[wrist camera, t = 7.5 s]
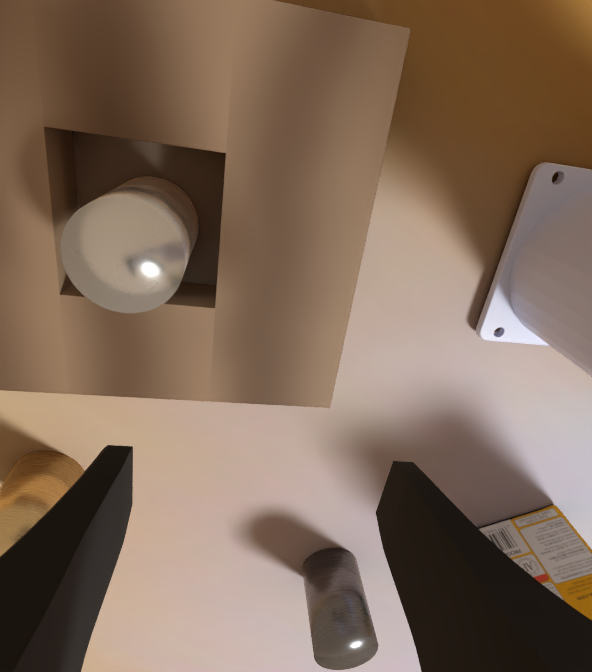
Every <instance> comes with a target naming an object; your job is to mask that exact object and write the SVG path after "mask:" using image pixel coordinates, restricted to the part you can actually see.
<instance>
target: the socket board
mask: <svg viewBox="0 0 592 672" xmlns="http://www.w3.org/2000/svg"><path fill="white" fill-rule="evenodd" d="M410 31H411V28H406V27H401V26H396V25H392V24H387V23H382V22H377V21H372V20H367V19H363V18H358V17H353V16H348V15H343V14H338V13H333V12H329V11H324V10H319V9H314V8H309V7H304V6H299V5H295V4H290V3H285V2H280V1H275V0H0V390H7V391H26V392H45V393H63V394H82V395H100V396H119V397H138V398H156V399H175V400H194V401H212V402H231V403H249V404H268V405H287V406H305V407H324V408H330V405H331V400H332V395H333V391H334V386H335V381H336V377H337V372H338V367H339V363H340V358H341V353H342V349H343V344H344V339H345V335H346V330H347V325H348V321H349V316H350V311H351V307H352V302H353V297H354V293H355V288H356V283H357V279H358V274H359V269H360V265H361V260H362V255H363V251H364V246H365V241H366V237H367V232H368V227H369V223H370V218H371V213H372V209H373V204H374V199H375V195H376V190H377V185H378V181H379V176H380V171H381V167H382V162H383V157H384V153H385V148H386V143H387V139H388V134H389V129H390V125H391V120H392V115H393V111H394V106H395V101H396V97H397V92H398V87H399V83H400V78H401V73H402V69H403V64H404V59H405V55H406V50H407V45H408V41H409V36H410ZM72 131H78V132H85V133H92V134H99V135H106V136H113V137H119V138H126V139H133V140H140V141H147V142H154V143H161V144H167V145H174V146H181V147H188V148H195V149H202V150H209V151H215V152H222V153H226V160H225V174H224V188H223V203H222V217H221V231H220V246H219V260H218V275H217V286H215V285H204V284H194V283H184V282H181V283H180V285H179V287H178V289H177V290H176V292H175V293H174V294H173V296H172V297H171V298H170V299H169V300H168V301H166V302H165V303H164V304H162V305H160V306H159V307H157V308H154V309H152V310H149V311H145V312H140V313H121V312H116V311H112V310H109V309H106V308H103V307H101V306H99V305H97V304H95V303H94V302H92V301H91V300H89V299H88V298H87V297H85V296H84V295H83V294H82V293H81V292H80V291H79V290H78V289H77V288H76V287H75V286H74V284H73V283H72V282H71V280H70V278H69V277H68V275H67V273H66V271H65V269H64V265H63V262H62V258H61V248H60V245H61V237H62V234H63V230H64V228H65V226H66V224H67V222H68V221H69V219H70V218H71V217H72V215H73V214H74V213H75V212H76V211H77V210H78V207H77V192H76V178H75V163H74V149H73V134H72Z"/></svg>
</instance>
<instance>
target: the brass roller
mask: <svg viewBox="0 0 592 672" xmlns="http://www.w3.org/2000/svg"><path fill="white" fill-rule="evenodd" d="M83 473H84V470H83V468H82V467H81V466H80V465H79V464H78V463H77V462H76V461H75V460H73V459H72V458H70V457H68V456H66V455H64V454H61V453H57V452H52V451H38V452H33V453H30V454H27V455H25V456H23V457H22V458H20V459H19V460H18V461H17V463H16V464H15V465H14V467H13V468H12V470H11V472H10V473H9V475H8V476H7V478H6V479H5V481H4V482H3V484H2V485H1V487H0V556H1V555H2V554H3V553H5V552H6V551H7V550H8V549H9V548H10V547H11V546H12V545H14V544H15V543H16V542H17V541H18V540H19V539H20V538H21V537H22V536H23V535H24V534H25V533H26V532H27V531H28V530H29V529H30V528H32V527H33V526H34V525H35V524H36V523H37V522H38V521H39V520H40V519H41V518H42V517H43V516H44V515H45V514H46V513H47V512H48V511H49V510H50V509H51V508H52V507H53V506H54V505H55V504H56V503H57V502H58V500H59V499H60V498H61V497H62V496H63V495H64V494H65V493H66V492H67V491H68V490H69V489H70V488H71V487H72V486H73V484H74V483H75V482H76V481H77V480H78V479H79V478H80V476H81V475H82V474H83Z"/></svg>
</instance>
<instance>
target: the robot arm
mask: <svg viewBox="0 0 592 672" xmlns="http://www.w3.org/2000/svg"><path fill="white" fill-rule="evenodd" d="M556 172H558V178H557V180H556V181H555V182H552V177H553V175H554V173H556ZM499 327H500V330H499V331H498V332H497V333H494V331H495V330H496V329H497V328H499ZM476 333H477V335H478V336H479V337H480V338H481V339H483V340H487V341H499V342H510V343H522V344H534V345H546V346H551V347H552V348H554V349H555V350H556V351H558V352H559V353H560V354H562V355H563V356H564V357H566V358H567V359H569V360H570V361H571V362H573V363H574V364H575V365H577V366H578V367H579V368H581V369H582V370H583V371H585V372H586V373H587V374H589V375H590V376H591V377H592V169H586V168H579V167H573V166H567V165H561V164H555V163H548V162H543V163H540V164H538V165H537V166H536V167H535V168H534V169H533V171H532V173H531V175H530V178H529V181H528V183H527V186H526V189H525V192H524V195H523V197H522V200H521V203H520V206H519V209H518V212H517V214H516V217H515V220H514V223H513V226H512V229H511V231H510V234H509V237H508V240H507V243H506V245H505V248H504V251H503V254H502V257H501V260H500V262H499V265H498V268H497V271H496V274H495V276H494V279H493V282H492V285H491V288H490V291H489V293H488V296H487V299H486V302H485V305H484V307H483V310H482V313H481V316H480V319H479V322H478V324H477V327H476ZM132 475H133V447H130V446H113V445H108V446H107V447H105V448H104V449H103V450H102V451H101V453H100V454H99V455H98V456H97V458H96V459H95V460H94V461H93V462H92V464H91V465H90V466H89V467H88V468H87V470H86V471H85V472H84V473H83V474H82V475H81V476H80V478H79V479H78V480H77V481H76V482H75V483H74V484H73V486H72V487H71V488H70V489H69V490H68V491H67V492H66V493H65V494H64V495H63V496H62V497H61V498H60V499H59V500H58V502H57V503H56V504H55V505H54V506H53V507H52V508H51V509H50V510H49V511H48V512H47V513H46V514H45V515H44V516H43V517H42V518H41V519H40V520H39V521H38V522H37V523H36V524H35V525H34V526H33V527H32V528H30V529H29V530H28V531H27V532H26V533H25V534H24V535H23V536H22V537H21V538H20V539H19V540H18V541H17V542H16V543H15V544H14V545H12V546H11V547H10V548H9V549H8V550H7V551H6V552H5V553H3V554H2V555H1V556H0V672H81V669H82V665H83V661H84V657H85V654H86V651H87V647H88V644H89V641H90V638H91V634H92V631H93V629H94V626H95V623H96V620H97V617H98V614H99V611H100V609H101V606H102V603H103V600H104V597H105V594H106V591H107V589H108V586H109V583H110V580H111V577H112V574H113V571H114V568H115V566H116V563H117V560H118V557H119V554H120V551H121V548H122V545H123V542H124V538H125V534H126V529H127V525H128V521H129V516H130V512H131V507H132ZM376 515H377V521H378V526H379V531H380V536H381V540H382V545H383V549H384V552H385V555H386V558H387V561H388V564H389V567H390V571H391V574H392V577H393V580H394V582H395V585H396V588H397V591H398V594H399V597H400V600H401V603H402V606H403V609H404V612H405V615H406V618H407V621H408V624H409V627H410V630H411V633H412V636H413V640H414V643H415V646H416V650H417V654H418V658H419V662H420V666H421V671H422V672H592V620H591V619H589V618H588V617H586V616H585V615H583V614H582V613H580V612H579V611H578V610H576V609H575V608H573V607H572V606H571V605H569V604H568V603H567V602H565V601H564V600H562V599H561V598H560V597H558V596H557V595H555V594H554V593H553V592H552V591H550V590H549V589H548V588H546V587H545V586H544V585H542V584H541V583H540V582H539V581H537V580H536V579H535V578H534V577H532V576H531V575H530V574H529V573H528V572H526V571H525V570H524V569H523V568H521V567H520V566H519V565H518V564H517V563H515V562H514V561H513V560H512V559H511V558H510V557H508V556H507V555H506V554H505V553H504V552H503V551H502V550H500V549H499V548H498V547H497V546H496V545H495V544H494V543H493V542H492V541H491V540H490V539H489V538H487V537H486V536H485V535H484V534H483V533H482V532H481V531H480V530H479V529H478V528H477V527H476V526H475V525H474V524H473V523H472V522H471V521H470V520H469V519H468V518H467V517H466V516H465V515H464V514H463V513H462V512H461V511H460V510H459V509H458V508H457V507H456V506H455V505H454V504H453V503H452V502H451V501H450V500H449V499H448V498H447V497H446V496H445V495H444V494H443V493H442V492H441V491H440V489H439V488H438V487H437V486H436V485H435V484H434V483H433V482H432V481H431V480H430V479H429V478H428V477H427V476H426V475H425V474H424V473H423V472H422V471H421V470H420V469H419V468H418V467H417V466H416V465H415V464H414V463H413V462H397V461H393V464H392V466H391V469H390V472H389V475H388V478H387V481H386V484H385V487H384V490H383V493H382V496H381V499H380V502H379V505H378V508H377V511H376Z"/></svg>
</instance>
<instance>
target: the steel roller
mask: <svg viewBox="0 0 592 672" xmlns="http://www.w3.org/2000/svg"><path fill="white" fill-rule="evenodd" d="M198 228H199V225H198V217H197V213H196V210H195V208H194V205H193V203H192V202H191V200H190V199H189V197H188V196H187V195H186V194H185V193H184V192H183V191H182V190H181V189H180V188H179V187H178V186H176V185H175V184H173V183H171V182H169V181H167V180H165V179H162V178H158V177H150V176H145V177H138V178H134V179H131V180H129V181H127V182H125V183H124V184H122V185H120V186H118V187H116V188H115V189H113V190H111V191H109V192H108V193H106V194H104V195H102V196H100V197H99V198H97V199H95V200H93V201H92V202H90V203H88V204H86V205H85V206H83V207H81V208H80V209H79V210H77V211H76V212H75V213H74V214H73V215H72V217H71V218H70V219H69V221H68V222H67V224H66V226H65V228H64V230H63V234H62V237H61V245H60V248H61V258H62V262H63V265H64V269H65V271H66V273H67V275H68V277H69V278H70V280H71V282H72V283H73V284H74V286H75V287H76V288H77V289H78V290H79V291H80V292H81V293H82V294H83V295H84V296H85V297H87V298H88V299H89V300H91V301H92V302H94V303H95V304H97V305H99V306H101V307H103V308H106V309H109V310H112V311H116V312H121V313H140V312H145V311H149V310H152V309H154V308H157V307H159V306H160V305H162V304H164V303H165V302H166V301H168V300H169V299H170V298H171V297H172V296H173V294H174V293H175V292H176V290H177V289H178V287H179V285H180V283H181V280H182V278H183V275H184V272H185V269H186V267H187V264H188V261H189V258H190V256H191V253H192V250H193V247H194V245H195V242H196V239H197V235H198Z"/></svg>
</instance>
